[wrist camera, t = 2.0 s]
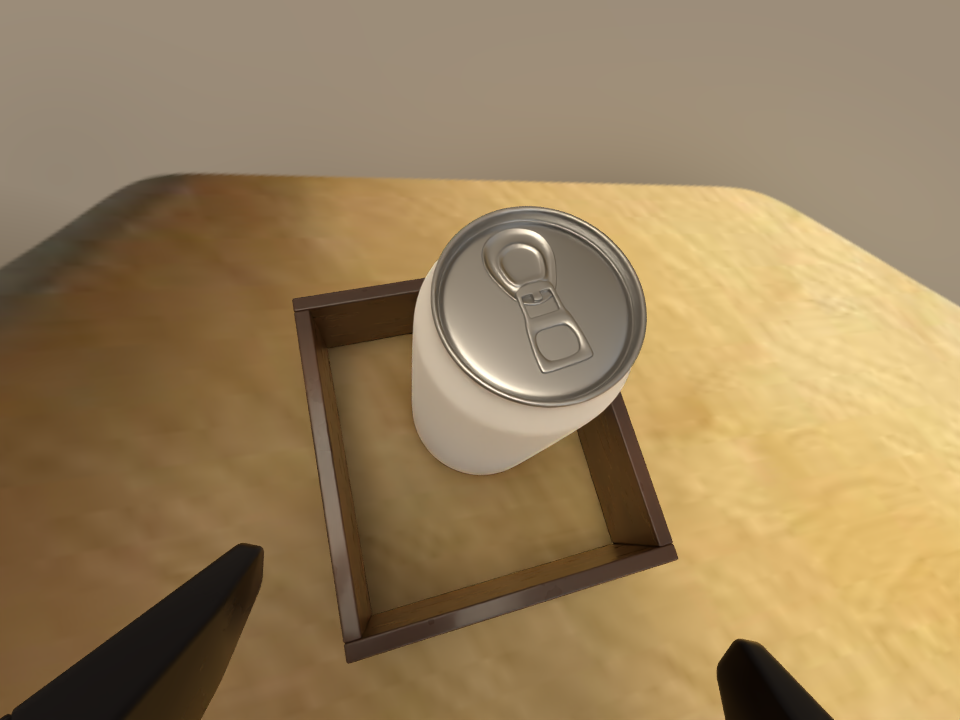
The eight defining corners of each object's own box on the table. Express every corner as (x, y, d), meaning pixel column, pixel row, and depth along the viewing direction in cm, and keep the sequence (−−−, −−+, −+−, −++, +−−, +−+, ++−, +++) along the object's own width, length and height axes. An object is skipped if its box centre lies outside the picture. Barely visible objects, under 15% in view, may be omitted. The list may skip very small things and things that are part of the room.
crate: (628, 553, 22) (679, 559, 18) (360, 635, 20) (346, 664, 15) (546, 298, 26) (572, 253, 22) (312, 339, 23) (291, 298, 19)
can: (513, 330, 25) (597, 170, 14) (564, 448, 23) (707, 373, 12) (393, 369, 23) (377, 223, 12) (438, 498, 22) (469, 466, 11)
